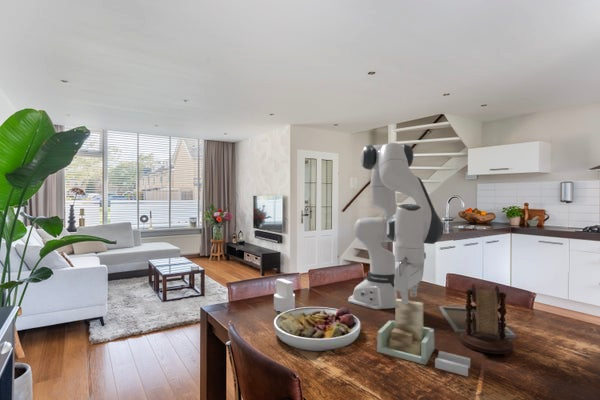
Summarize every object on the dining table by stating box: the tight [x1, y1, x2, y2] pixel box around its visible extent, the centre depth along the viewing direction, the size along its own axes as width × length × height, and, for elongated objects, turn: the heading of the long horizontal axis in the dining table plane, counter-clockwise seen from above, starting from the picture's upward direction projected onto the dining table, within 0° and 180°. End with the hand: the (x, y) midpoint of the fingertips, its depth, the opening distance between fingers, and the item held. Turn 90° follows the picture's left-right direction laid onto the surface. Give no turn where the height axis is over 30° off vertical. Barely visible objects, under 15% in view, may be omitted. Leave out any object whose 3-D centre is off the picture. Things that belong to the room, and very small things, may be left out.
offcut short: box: [391, 328, 414, 344], centre depth 100 cm, size 6×3×2 cm, turn 57°
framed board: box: [438, 305, 517, 339], centre depth 127 cm, size 19×2×30 cm
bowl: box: [273, 306, 361, 352], centre depth 114 cm, size 30×30×8 cm
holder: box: [434, 350, 471, 377], centre depth 90 cm, size 8×6×3 cm
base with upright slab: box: [273, 278, 296, 313], centre depth 140 cm, size 9×9×12 cm
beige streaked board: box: [394, 298, 424, 342], centre depth 102 cm, size 8×2×14 cm, turn 57°
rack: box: [376, 319, 435, 366], centre depth 100 cm, size 14×12×7 cm
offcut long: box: [390, 338, 421, 356], centre depth 99 cm, size 9×3×3 cm, turn 57°
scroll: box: [459, 283, 514, 358], centre depth 104 cm, size 15×15×20 cm
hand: (409, 299), depth 102 cm, fingers open, 8 cm apart
